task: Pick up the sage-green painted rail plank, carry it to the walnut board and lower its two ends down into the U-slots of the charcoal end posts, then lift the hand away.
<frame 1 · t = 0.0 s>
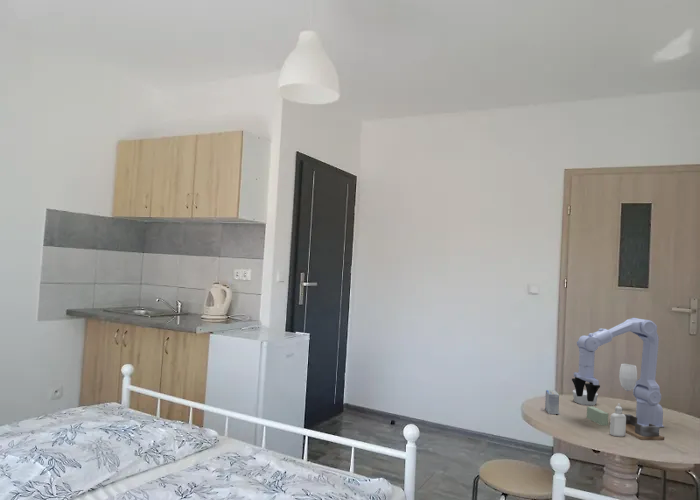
hand: (584, 398, 214), 10 cm above the table, tool pointing down, fingers open, 7 cm apart
ramekin: (584, 403, 249), on the table
slotted holder: (635, 432, 206), on the table
rail plank: (597, 421, 218), on the table
medicine box: (551, 412, 229), on the table
eye dropper bottle: (617, 435, 201), on the table
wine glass: (626, 411, 239), on the table
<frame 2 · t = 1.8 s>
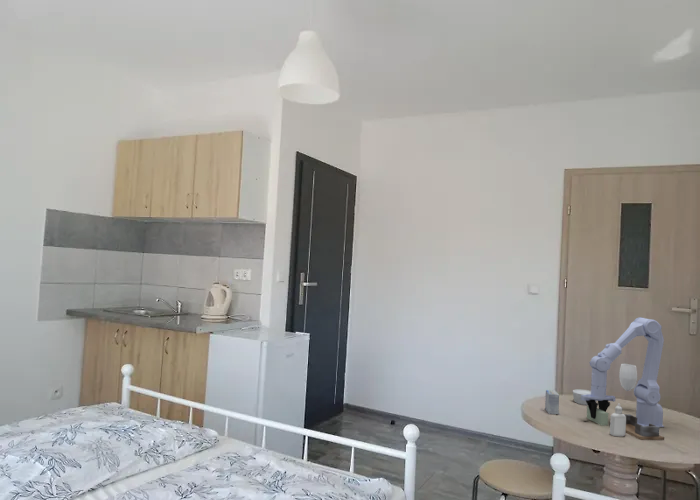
hand: (597, 418, 218), 1 cm above the table, tool pointing down, fingers closed on rail plank, 3 cm apart
rail plank: (597, 421, 218), on the table, touching gripper
everything else where it was.
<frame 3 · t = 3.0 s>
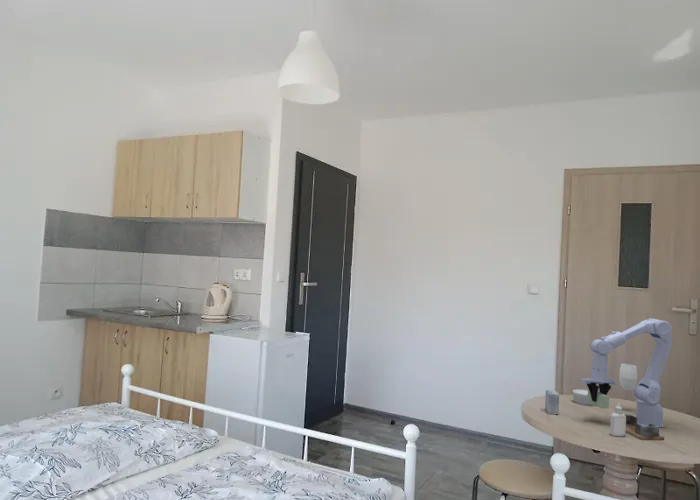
hand: (598, 401, 218), 8 cm above the table, tool pointing down, fingers closed on rail plank, 3 cm apart
rail plank: (597, 405, 218), point 7 cm above the table, touching gripper
everything else where it was.
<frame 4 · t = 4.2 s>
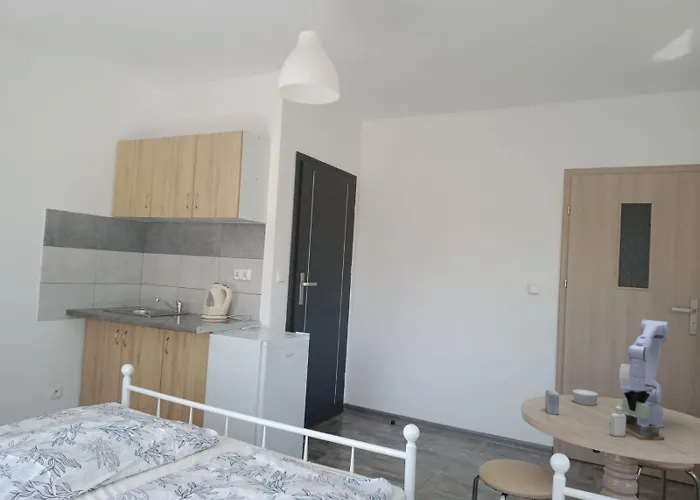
hand: (635, 410, 207), 8 cm above the table, tool pointing down, fingers closed on rail plank, 3 cm apart
rail plank: (635, 414, 207), point 7 cm above the table, touching gripper
everything else where it was.
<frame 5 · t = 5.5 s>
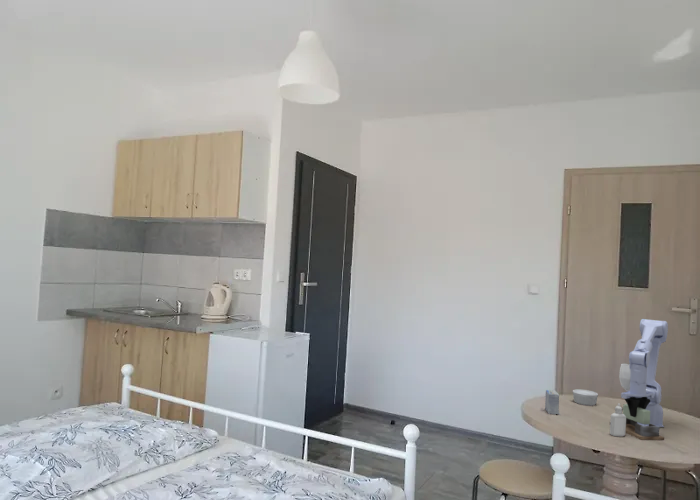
hand: (636, 416, 206), 6 cm above the table, tool pointing down, fingers closed on rail plank, 3 cm apart
rail plank: (635, 420, 207), point 5 cm above the table, touching gripper
everything else where it was.
when the fingers open (3 cm above the table, at t = 6.5 s): rail plank stays where it is, resting on slotted holder.
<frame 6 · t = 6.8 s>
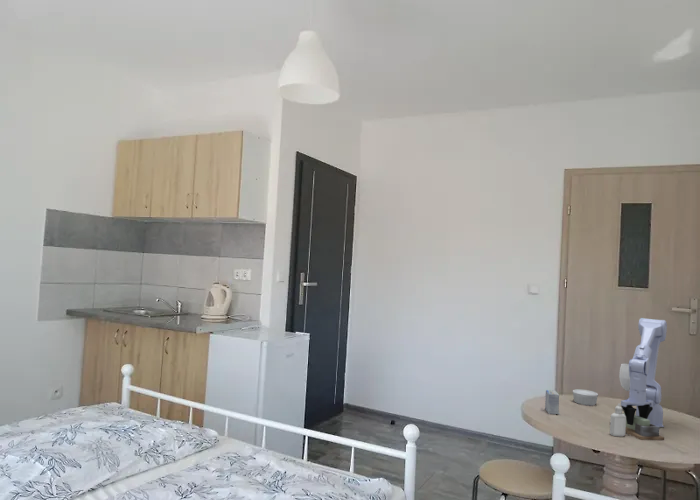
hand: (636, 424, 206), 3 cm above the table, tool pointing down, fingers open, 6 cm apart
rail plank: (635, 429, 207), point 1 cm above the table, touching slotted holder
everything else where it was.
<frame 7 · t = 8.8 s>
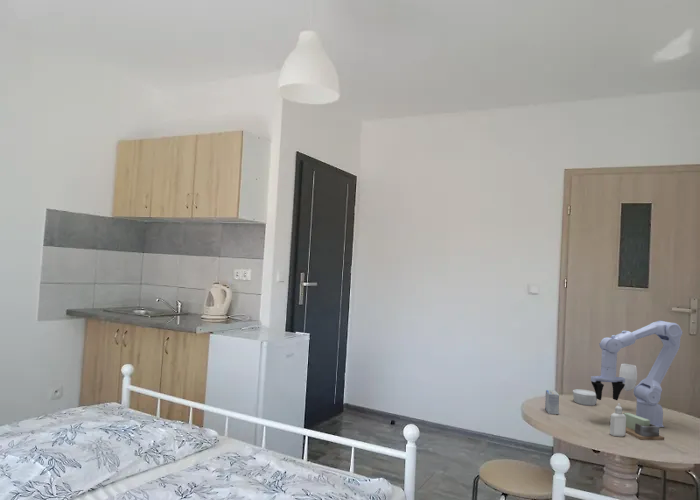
hand: (607, 399, 218), 9 cm above the table, tool pointing down, fingers open, 7 cm apart
nothing on the table moved.
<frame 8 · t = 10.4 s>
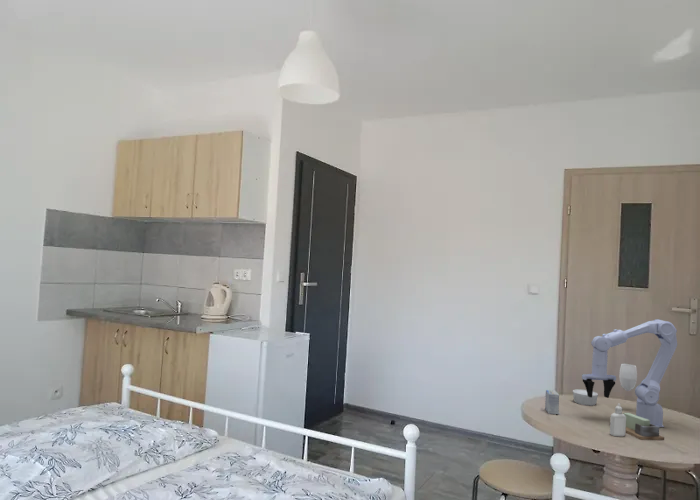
hand: (598, 397, 222), 9 cm above the table, tool pointing down, fingers open, 7 cm apart
nothing on the table moved.
at the end: rail plank 0.2 cm off-centre on the slotted holder, point 1.0 cm above the slotted holder's base; rail plank tilted 0°; the gripper is holding nothing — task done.
